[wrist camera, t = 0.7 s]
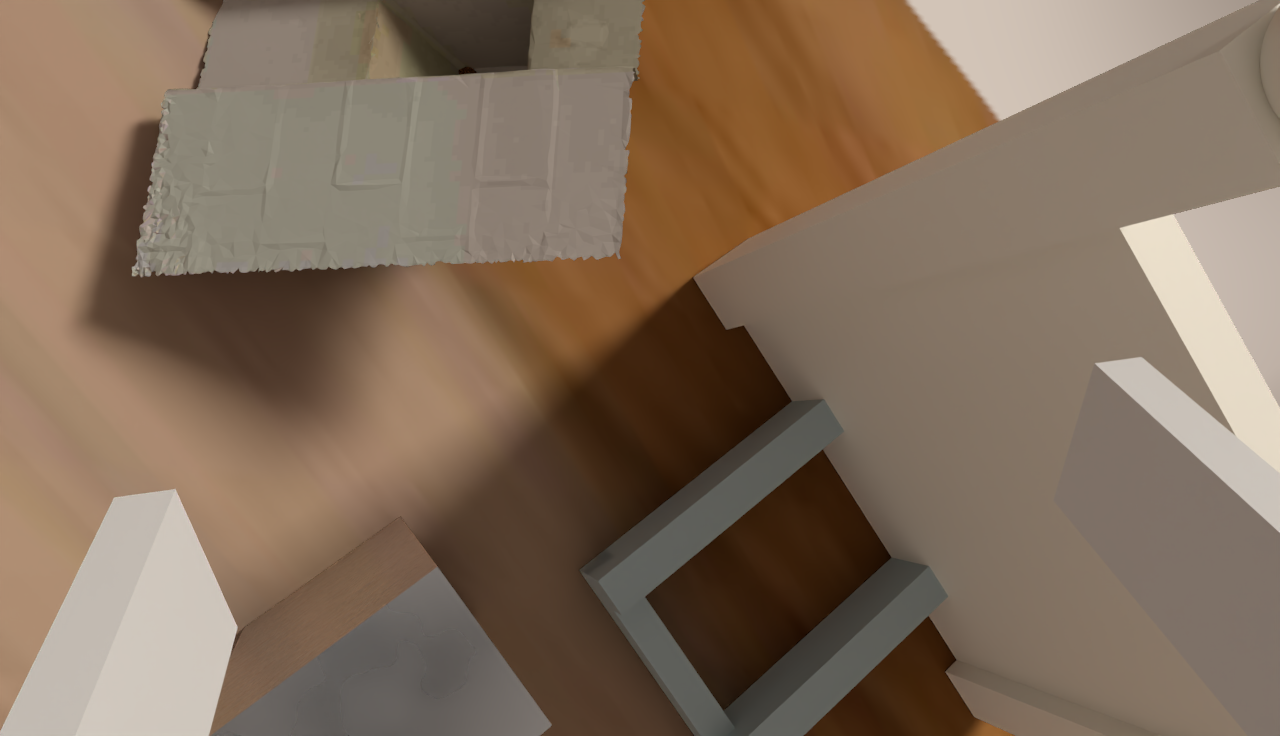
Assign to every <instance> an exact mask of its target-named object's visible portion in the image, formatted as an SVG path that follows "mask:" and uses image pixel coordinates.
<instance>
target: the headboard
mask: <svg viewBox="0 0 1280 736" xmlns="http://www.w3.org/2000/svg"><path fill="white" fill-rule="evenodd" d="M1276 187H1280V0H1259V1H1257V2H1255V3H1252V4H1251V5H1248V6H1246V7H1244V8H1242V9H1240V10H1237V11H1235V12H1233V13H1231V14H1229V15H1227V16H1225V17H1223V18H1220V19H1218V20H1216V21H1214V22H1212V23H1210V24H1207V25H1205V26H1203V27H1201V28H1199V29H1197V30H1195V31H1192V32H1190V33H1188V34H1186V35H1184V36H1182V37H1180V38H1177V39H1175V40H1173V41H1171V42H1169V43H1167V44H1165V45H1162V46H1160V47H1158V48H1156V49H1154V50H1152V51H1150V52H1147V53H1145V54H1143V55H1141V56H1139V57H1137V58H1135V59H1132V60H1130V61H1128V62H1126V63H1124V64H1122V65H1119V66H1117V67H1115V68H1113V69H1111V70H1109V71H1107V72H1105V73H1103V74H1100V75H1098V76H1096V77H1094V78H1092V79H1090V80H1088V81H1085V82H1083V83H1081V84H1079V85H1077V86H1074V87H1072V88H1070V89H1068V90H1066V91H1064V92H1062V93H1059V94H1057V95H1055V96H1053V97H1051V98H1049V99H1047V100H1044V101H1043V102H1040V103H1038V104H1036V105H1034V106H1032V107H1030V108H1027V109H1025V110H1023V111H1021V112H1019V113H1017V114H1015V115H1012V116H1010V117H1008V118H1006V119H1004V120H1002V121H999V122H997V123H995V124H993V125H991V126H989V127H987V128H984V129H982V130H980V131H978V132H976V133H974V134H972V135H969V136H967V137H965V138H963V139H961V140H959V141H957V142H954V143H952V144H950V145H948V146H946V147H944V148H942V149H939V150H937V151H935V152H933V153H931V154H929V155H927V156H924V157H922V158H920V159H918V160H916V161H914V162H912V163H909V164H907V165H905V166H903V167H901V168H899V169H897V170H894V171H892V172H890V173H888V174H886V175H884V176H882V177H879V178H877V179H875V180H873V181H871V182H869V183H867V184H864V185H862V186H860V187H858V188H856V189H854V190H852V191H849V192H847V193H845V194H843V195H841V196H839V197H837V198H834V199H832V200H830V201H828V202H826V203H824V204H822V205H819V206H817V207H815V208H813V209H811V210H809V211H807V212H804V213H802V214H800V215H798V216H796V217H794V218H792V219H789V220H787V221H785V222H783V223H781V224H779V225H777V226H774V227H772V228H770V229H768V230H766V231H764V232H762V233H759V234H757V235H755V236H753V237H751V238H749V239H747V240H746V241H744V242H743V243H741V244H740V245H738V246H737V247H736V248H734V249H733V250H731V251H730V252H728V253H727V254H726V255H724V256H723V257H721V258H720V259H718V260H717V261H716V262H714V263H713V264H711V265H710V266H708V267H707V268H706V269H704V270H703V271H701V272H700V273H698V274H697V275H695V276H694V277H693V279H694V280H695V282H696V283H697V285H698V286H699V288H700V289H701V291H702V293H703V294H704V296H705V297H706V299H707V300H708V302H709V304H710V305H711V307H712V308H713V310H714V311H715V313H716V314H717V316H718V318H719V319H720V321H721V322H722V324H723V325H724V327H725V329H726V330H728V329H732V328H735V327H739V326H743V325H744V327H745V328H746V330H747V331H748V333H749V334H750V336H751V338H752V339H753V341H754V342H755V344H756V345H757V347H758V349H759V350H760V352H761V353H762V355H763V356H764V358H765V360H766V361H767V363H768V364H769V366H770V367H771V369H772V371H773V372H774V374H775V375H776V377H777V378H778V380H779V382H780V383H781V385H782V386H783V388H784V389H785V391H786V393H787V394H788V396H789V397H790V399H791V400H792V402H791V403H789V404H788V405H787V406H786V407H784V408H783V409H782V410H780V411H779V412H778V413H777V414H775V415H774V416H773V417H772V418H770V419H769V420H768V421H767V422H765V423H764V424H763V425H762V426H760V427H759V428H758V429H756V430H755V431H754V432H753V433H751V434H750V435H749V436H748V437H746V438H745V439H744V440H743V441H741V442H740V443H739V444H738V445H736V446H735V447H734V448H733V449H731V450H730V451H729V452H727V453H726V454H725V455H724V456H722V457H721V458H720V459H719V460H717V461H716V462H715V463H714V464H712V465H711V466H710V467H709V468H707V469H706V470H705V471H703V472H702V473H701V474H700V475H698V476H697V477H696V478H695V479H693V480H692V481H691V482H690V483H688V484H687V485H686V486H685V487H683V488H682V489H681V490H680V491H678V492H677V493H676V494H674V495H673V496H672V497H671V498H669V499H668V500H667V501H666V502H664V503H663V504H662V505H661V506H659V507H658V508H657V509H656V510H654V511H653V512H652V513H651V514H649V515H648V516H647V517H645V518H644V519H643V520H642V521H640V522H639V523H638V524H637V525H635V526H634V527H633V528H632V529H630V530H629V531H628V532H627V533H625V534H624V535H623V536H621V537H620V538H619V539H618V540H616V541H615V542H614V543H613V544H611V545H610V546H609V547H608V548H606V549H605V550H604V551H603V552H601V553H600V554H599V555H598V556H596V557H595V558H594V559H592V560H591V561H590V562H589V563H587V564H586V565H585V566H584V567H582V568H581V569H580V570H579V571H580V572H581V574H582V575H583V577H584V578H585V579H586V581H587V582H588V584H589V585H590V587H591V588H592V590H593V591H594V592H595V594H596V595H597V597H598V598H599V600H600V601H601V602H602V604H603V605H604V607H605V608H606V610H607V611H608V612H609V614H610V615H611V617H612V618H613V620H614V621H615V623H616V624H617V625H618V627H619V628H620V630H621V631H622V633H623V634H624V635H625V637H626V638H627V640H628V641H629V643H630V644H631V646H632V647H633V648H634V650H635V651H636V653H637V654H638V656H639V657H640V658H641V660H642V661H643V663H644V664H645V666H646V667H647V669H648V670H649V671H650V673H651V674H652V676H653V677H654V679H655V680H656V681H657V683H658V684H659V686H660V687H661V689H662V690H663V692H664V693H665V694H666V696H667V697H668V699H669V700H670V702H671V703H672V704H673V706H674V707H675V709H676V710H677V712H678V713H679V714H680V716H681V717H682V719H683V720H684V722H685V723H686V725H687V726H688V727H689V729H690V730H691V732H692V733H693V735H694V736H804V735H805V734H806V733H807V732H808V731H809V730H810V729H811V728H812V727H813V726H814V725H815V724H816V723H817V722H818V721H819V720H820V719H821V718H822V717H824V716H825V715H826V714H827V713H828V712H829V711H830V710H831V709H832V708H833V707H834V706H835V705H836V704H837V703H838V702H839V701H840V700H841V699H842V698H843V697H844V696H845V695H846V694H847V693H848V692H850V691H851V690H852V689H853V688H854V687H855V686H856V685H857V684H858V683H859V682H860V681H861V680H862V679H863V678H864V677H865V676H866V675H867V674H868V673H869V672H870V671H871V670H872V669H873V668H874V667H876V666H877V665H878V664H879V663H880V662H881V661H882V660H883V659H884V658H885V657H886V656H887V655H888V654H889V653H890V652H891V651H892V650H893V649H894V648H895V647H896V646H897V645H898V644H899V643H900V642H902V641H903V640H904V639H905V638H906V637H907V636H908V635H909V634H910V633H911V632H912V631H913V630H914V629H915V628H916V627H917V626H918V625H919V624H920V623H921V622H922V621H923V620H924V619H925V618H926V617H927V616H929V617H930V619H931V620H932V622H933V624H934V625H935V627H936V628H937V630H938V631H939V633H940V635H941V636H942V638H943V639H944V641H945V642H946V644H947V646H948V647H949V649H950V650H951V652H952V653H953V655H954V657H955V658H956V661H955V662H954V663H953V664H952V665H951V666H950V667H949V668H948V669H947V670H946V671H945V672H946V674H947V675H948V677H949V679H950V680H951V682H952V683H953V685H954V686H955V688H956V689H957V691H958V693H959V694H960V696H961V697H962V699H963V700H964V702H965V704H966V705H967V707H968V708H969V710H970V711H971V713H972V714H973V716H974V717H975V718H977V719H980V720H982V721H984V722H986V723H989V724H991V725H993V726H995V727H998V728H1000V729H1002V730H1004V731H1006V732H1009V733H1011V734H1013V735H1015V736H1248V735H1247V734H1246V733H1245V732H1244V730H1243V729H1242V728H1241V727H1240V726H1239V724H1238V723H1237V722H1236V721H1235V720H1234V718H1233V717H1232V716H1231V715H1230V714H1229V712H1228V711H1227V710H1226V709H1225V708H1224V706H1223V705H1222V704H1221V703H1220V701H1219V700H1218V699H1217V698H1216V697H1215V695H1214V694H1213V693H1212V692H1211V691H1210V689H1209V688H1208V687H1207V686H1206V685H1205V683H1204V682H1203V681H1202V680H1201V678H1200V677H1199V676H1198V675H1197V674H1196V672H1195V671H1194V670H1193V669H1192V668H1191V666H1190V665H1189V664H1188V663H1187V662H1186V660H1185V659H1184V658H1183V657H1182V656H1181V654H1180V653H1179V652H1178V651H1177V649H1176V648H1175V647H1174V646H1173V645H1172V643H1171V642H1170V641H1169V640H1168V639H1167V637H1166V636H1165V635H1164V634H1163V633H1162V631H1161V630H1160V629H1159V628H1158V626H1157V625H1156V624H1155V623H1154V622H1153V620H1152V619H1151V618H1150V617H1149V616H1148V614H1147V613H1146V612H1145V611H1144V610H1143V608H1142V607H1141V606H1140V605H1139V603H1138V602H1137V601H1136V600H1135V599H1134V597H1133V596H1132V595H1131V594H1130V593H1129V591H1128V590H1127V589H1126V588H1125V587H1124V585H1123V584H1122V583H1121V582H1120V581H1119V579H1118V578H1117V577H1116V576H1115V574H1114V573H1113V572H1112V571H1111V570H1110V568H1109V567H1108V566H1107V565H1106V564H1105V562H1104V561H1103V560H1102V559H1101V558H1100V556H1099V555H1098V554H1097V553H1096V551H1095V550H1094V549H1093V548H1092V547H1091V545H1090V544H1089V543H1088V542H1087V541H1086V539H1085V538H1084V537H1083V536H1082V535H1081V533H1080V532H1079V531H1078V530H1077V529H1076V527H1075V526H1074V525H1073V524H1072V522H1071V521H1070V520H1069V519H1068V518H1067V516H1066V515H1065V514H1064V513H1063V512H1062V510H1061V509H1060V508H1059V507H1058V506H1057V504H1056V503H1055V502H1054V501H1053V500H1054V497H1055V493H1056V490H1057V487H1058V483H1059V480H1060V477H1061V473H1062V470H1063V467H1064V463H1065V460H1066V457H1067V453H1068V450H1069V447H1070V443H1071V440H1072V437H1073V433H1074V430H1075V427H1076V423H1077V420H1078V417H1079V413H1080V410H1081V407H1082V403H1083V400H1084V397H1085V393H1086V390H1087V387H1088V383H1089V380H1090V377H1091V373H1092V370H1093V367H1094V363H1101V362H1108V361H1116V360H1123V359H1130V358H1138V357H1142V358H1143V359H1145V360H1146V361H1147V362H1148V363H1149V364H1151V365H1152V366H1153V367H1154V368H1155V369H1156V370H1158V371H1159V372H1160V373H1161V374H1162V375H1164V376H1165V377H1166V378H1167V379H1168V380H1170V381H1171V382H1172V383H1173V384H1174V385H1175V386H1177V387H1178V388H1179V389H1180V390H1181V391H1183V392H1184V393H1185V394H1186V395H1187V396H1189V397H1190V398H1191V399H1192V400H1193V401H1194V402H1196V403H1197V404H1198V405H1199V406H1200V407H1202V408H1203V409H1204V410H1205V411H1206V412H1208V413H1209V414H1210V415H1211V416H1212V417H1214V418H1215V419H1216V420H1217V421H1218V422H1219V423H1221V424H1222V425H1223V426H1224V427H1225V428H1227V429H1228V430H1229V431H1230V432H1231V433H1233V434H1234V435H1235V436H1236V437H1237V438H1238V439H1240V440H1241V441H1242V442H1243V443H1244V444H1246V445H1247V446H1248V447H1249V448H1250V449H1252V450H1253V451H1254V452H1255V453H1256V454H1257V455H1259V456H1260V457H1261V458H1262V459H1263V460H1265V461H1266V462H1267V463H1268V464H1269V465H1271V466H1272V467H1273V468H1274V469H1275V470H1276V471H1278V472H1279V473H1280V408H1279V406H1278V404H1277V402H1276V400H1275V399H1274V397H1273V395H1272V393H1271V391H1270V389H1269V388H1268V386H1267V384H1266V382H1265V380H1264V378H1263V377H1262V375H1261V373H1260V371H1259V369H1258V368H1257V366H1256V364H1255V362H1254V360H1253V358H1252V357H1251V355H1250V353H1249V351H1248V349H1247V347H1246V346H1245V344H1244V342H1243V340H1242V338H1241V337H1240V335H1239V333H1238V331H1237V329H1236V327H1235V326H1234V324H1233V322H1232V320H1231V318H1230V317H1229V315H1228V313H1227V311H1226V309H1225V307H1224V306H1223V304H1222V302H1221V300H1220V298H1219V297H1218V295H1217V293H1216V291H1215V289H1214V287H1213V286H1212V284H1211V282H1210V280H1209V278H1208V277H1207V275H1206V273H1205V271H1204V269H1203V268H1202V266H1201V264H1200V262H1199V260H1198V258H1197V257H1196V255H1195V253H1194V251H1193V249H1192V247H1191V246H1190V244H1189V242H1188V240H1187V238H1186V236H1185V235H1184V233H1183V231H1182V229H1181V228H1180V226H1179V224H1178V222H1177V220H1176V218H1175V217H1174V215H1173V214H1176V213H1179V212H1183V211H1187V210H1191V209H1195V208H1199V207H1203V206H1206V205H1210V204H1214V203H1218V202H1222V201H1226V200H1230V199H1234V198H1237V197H1241V196H1245V195H1249V194H1253V193H1257V192H1260V191H1264V190H1268V189H1272V188H1276ZM822 449H823V451H824V452H825V454H826V455H827V457H828V459H829V460H830V462H831V463H832V465H833V466H834V468H835V470H836V471H837V473H838V474H839V476H840V477H841V479H842V481H843V482H844V484H845V485H846V487H847V488H848V490H849V492H850V493H851V495H852V496H853V498H854V499H855V501H856V503H857V504H858V506H859V507H860V509H861V510H862V512H863V514H864V515H865V517H866V518H867V520H868V521H869V523H870V525H871V526H872V528H873V529H874V531H875V532H876V534H877V536H878V537H879V539H880V540H881V542H882V543H883V545H884V547H885V548H886V550H887V551H888V553H889V554H890V556H891V558H890V559H889V560H888V561H887V562H886V563H885V564H884V565H883V566H882V567H881V568H880V569H878V570H877V571H876V572H875V573H874V574H873V575H872V576H871V577H870V578H869V579H867V580H866V581H865V582H864V583H863V584H862V585H861V586H860V587H859V588H858V589H857V590H855V591H854V592H853V593H852V594H851V595H850V596H849V597H848V598H847V599H846V600H844V601H843V602H842V603H841V604H840V605H839V606H838V607H837V608H836V609H835V610H834V611H832V612H831V613H830V614H829V615H828V616H827V617H826V618H825V619H824V620H823V621H821V622H820V623H819V624H818V625H817V626H816V627H815V628H814V629H813V630H812V631H811V632H809V633H808V634H807V635H806V636H805V637H804V638H803V639H802V640H801V641H800V642H798V643H797V644H796V645H795V646H794V647H793V648H792V649H791V650H790V651H789V652H788V653H786V654H785V655H784V656H783V657H782V658H781V659H780V660H779V661H778V662H777V663H776V664H774V665H773V666H772V667H771V668H770V669H769V670H768V671H767V672H766V673H765V674H763V675H762V676H761V677H760V678H759V679H758V680H757V681H756V682H755V683H754V684H753V685H751V686H750V687H749V688H748V689H747V690H746V691H745V692H744V693H743V694H742V695H740V696H739V697H738V698H737V699H736V700H735V701H734V702H733V703H732V704H731V705H730V706H728V707H727V708H726V709H725V710H724V711H723V710H722V708H721V707H720V705H719V704H718V702H717V701H716V700H715V698H714V697H713V695H712V694H711V692H710V691H709V689H708V688H707V686H706V685H705V684H704V682H703V681H702V679H701V678H700V676H699V675H698V673H697V672H696V670H695V669H694V667H693V666H692V665H691V663H690V662H689V660H688V659H687V657H686V656H685V654H684V653H683V651H682V650H681V649H680V647H679V646H678V644H677V643H676V641H675V640H674V638H673V637H672V635H671V634H670V633H669V631H668V630H667V628H666V627H665V625H664V624H663V622H662V621H661V619H660V618H659V617H658V615H657V614H656V612H655V611H654V609H653V608H652V606H651V605H650V603H649V602H648V601H647V599H646V598H645V596H646V595H647V594H649V593H650V592H651V591H652V590H653V589H655V588H656V587H657V586H658V585H659V584H661V583H662V582H663V581H664V580H665V579H667V578H668V577H669V576H670V575H672V574H673V573H674V572H675V571H676V570H678V569H679V568H680V567H681V566H682V565H684V564H685V563H686V562H687V561H688V560H690V559H691V558H692V557H693V556H694V555H696V554H697V553H698V552H699V551H700V550H702V549H703V548H704V547H705V546H707V545H708V544H709V543H710V542H711V541H713V540H714V539H715V538H716V537H717V536H719V535H720V534H721V533H722V532H723V531H725V530H726V529H727V528H728V527H729V526H731V525H732V524H733V523H734V522H736V521H737V520H738V519H739V518H740V517H742V516H743V515H744V514H745V513H746V512H748V511H749V510H750V509H751V508H752V507H754V506H755V505H756V504H757V503H758V502H760V501H761V500H762V499H763V498H764V497H766V496H767V495H768V494H769V493H771V492H772V491H773V490H774V489H775V488H777V487H778V486H779V485H780V484H781V483H783V482H784V481H785V480H786V479H787V478H789V477H790V476H791V475H792V474H793V473H795V472H796V471H797V470H798V469H799V468H801V467H802V466H803V465H804V464H806V463H807V462H808V461H809V460H810V459H812V458H813V457H814V456H815V455H816V454H818V453H819V452H820V451H821V450H822Z"/></svg>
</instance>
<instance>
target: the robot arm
mask: <svg viewBox="0 0 1280 736" xmlns="http://www.w3.org/2000/svg"><path fill="white" fill-rule="evenodd" d="M1053 501H1054V502H1055V503H1056V504H1057V506H1058V507H1059V508H1060V509H1061V510H1062V512H1063V513H1064V514H1065V515H1066V516H1067V518H1068V519H1069V520H1070V521H1071V522H1072V524H1073V525H1074V526H1075V527H1076V529H1077V530H1078V531H1079V532H1080V533H1081V535H1082V536H1083V537H1084V538H1085V539H1086V541H1087V542H1088V543H1089V544H1090V545H1091V547H1092V548H1093V549H1094V550H1095V551H1096V553H1097V554H1098V555H1099V556H1100V558H1101V559H1102V560H1103V561H1104V562H1105V564H1106V565H1107V566H1108V567H1109V568H1110V570H1111V571H1112V572H1113V573H1114V574H1115V576H1116V577H1117V578H1118V579H1119V581H1120V582H1121V583H1122V584H1123V585H1124V587H1125V588H1126V589H1127V590H1128V591H1129V593H1130V594H1131V595H1132V596H1133V597H1134V599H1135V600H1136V601H1137V602H1138V603H1139V605H1140V606H1141V607H1142V608H1143V610H1144V611H1145V612H1146V613H1147V614H1148V616H1149V617H1150V618H1151V619H1152V620H1153V622H1154V623H1155V624H1156V625H1157V626H1158V628H1159V629H1160V630H1161V631H1162V633H1163V634H1164V635H1165V636H1166V637H1167V639H1168V640H1169V641H1170V642H1171V643H1172V645H1173V646H1174V647H1175V648H1176V649H1177V651H1178V652H1179V653H1180V654H1181V656H1182V657H1183V658H1184V659H1185V660H1186V662H1187V663H1188V664H1189V665H1190V666H1191V668H1192V669H1193V670H1194V671H1195V672H1196V674H1197V675H1198V676H1199V677H1200V678H1201V680H1202V681H1203V682H1204V683H1205V685H1206V686H1207V687H1208V688H1209V689H1210V691H1211V692H1212V693H1213V694H1214V695H1215V697H1216V698H1217V699H1218V700H1219V701H1220V703H1221V704H1222V705H1223V706H1224V708H1225V709H1226V710H1227V711H1228V712H1229V714H1230V715H1231V716H1232V717H1233V718H1234V720H1235V721H1236V722H1237V723H1238V724H1239V726H1240V727H1241V728H1242V729H1243V730H1244V732H1245V733H1246V734H1247V735H1248V736H1280V473H1279V472H1278V471H1276V470H1275V469H1274V468H1273V467H1272V466H1271V465H1269V464H1268V463H1267V462H1266V461H1265V460H1263V459H1262V458H1261V457H1260V456H1259V455H1257V454H1256V453H1255V452H1254V451H1253V450H1252V449H1250V448H1249V447H1248V446H1247V445H1246V444H1244V443H1243V442H1242V441H1241V440H1240V439H1238V438H1237V437H1236V436H1235V435H1234V434H1233V433H1231V432H1230V431H1229V430H1228V429H1227V428H1225V427H1224V426H1223V425H1222V424H1221V423H1219V422H1218V421H1217V420H1216V419H1215V418H1214V417H1212V416H1211V415H1210V414H1209V413H1208V412H1206V411H1205V410H1204V409H1203V408H1202V407H1200V406H1199V405H1198V404H1197V403H1196V402H1194V401H1193V400H1192V399H1191V398H1190V397H1189V396H1187V395H1186V394H1185V393H1184V392H1183V391H1181V390H1180V389H1179V388H1178V387H1177V386H1175V385H1174V384H1173V383H1172V382H1171V381H1170V380H1168V379H1167V378H1166V377H1165V376H1164V375H1162V374H1161V373H1160V372H1159V371H1158V370H1156V369H1155V368H1154V367H1153V366H1152V365H1151V364H1149V363H1148V362H1147V361H1146V360H1145V359H1143V358H1142V357H1138V358H1130V359H1123V360H1116V361H1108V362H1101V363H1094V367H1093V370H1092V373H1091V377H1090V380H1089V383H1088V387H1087V390H1086V393H1085V397H1084V400H1083V403H1082V407H1081V410H1080V413H1079V417H1078V420H1077V423H1076V427H1075V430H1074V433H1073V437H1072V440H1071V443H1070V447H1069V450H1068V453H1067V457H1066V460H1065V463H1064V467H1063V470H1062V473H1061V477H1060V480H1059V483H1058V487H1057V490H1056V493H1055V497H1054V500H1053ZM237 628H238V627H237V625H236V623H235V620H234V618H233V616H232V614H231V612H230V609H229V607H228V605H227V603H226V600H225V598H224V596H223V594H222V592H221V589H220V587H219V585H218V583H217V580H216V578H215V576H214V574H213V572H212V569H211V567H210V565H209V563H208V560H207V558H206V556H205V554H204V552H203V549H202V547H201V545H200V543H199V540H198V538H197V536H196V534H195V532H194V529H193V527H192V525H191V523H190V520H189V518H188V516H187V514H186V512H185V509H184V507H183V505H182V503H181V500H180V498H179V496H178V494H177V492H176V489H173V490H166V491H158V492H151V493H144V494H136V495H129V496H122V497H114V499H113V501H112V503H111V505H110V507H109V509H108V511H107V513H106V516H105V518H104V520H103V522H102V524H101V526H100V528H99V530H98V532H97V534H96V536H95V538H94V540H93V542H92V544H91V546H90V548H89V550H88V552H87V555H86V557H85V559H84V561H83V563H82V565H81V567H80V569H79V571H78V573H77V575H76V577H75V579H74V581H73V583H72V585H71V587H70V589H69V591H68V593H67V596H66V598H65V600H64V602H63V604H62V606H61V608H60V610H59V612H58V614H57V616H56V618H55V620H54V622H53V624H52V626H51V628H50V630H49V632H48V635H47V637H46V639H45V641H44V643H43V645H42V647H41V649H40V651H39V653H38V655H37V657H36V659H35V661H34V663H33V665H32V667H31V669H30V671H29V673H28V676H27V678H26V680H25V682H24V684H23V686H22V688H21V690H20V692H19V694H18V696H17V698H16V700H15V702H14V704H13V706H12V708H11V710H10V712H9V715H8V717H7V719H6V721H5V723H4V725H3V727H2V729H1V731H0V736H209V733H210V729H211V726H212V722H213V718H214V714H215V711H216V707H217V703H218V699H219V696H220V692H221V688H222V684H223V681H224V677H225V673H226V669H227V665H228V662H229V658H230V654H231V650H232V647H233V643H234V639H235V635H236V632H237Z"/></svg>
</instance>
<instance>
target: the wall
mask: <svg viewBox="0 0 1280 736" xmlns="http://www.w3.org/2000/svg"><path fill="white" fill-rule="evenodd" d="M643 1H645V0H223V4H222V6H221V8H220V10H219V11H218V13H217V15H216V17H215V19H214V21H213V25H212V28H210V30H209V32H208V33H209V34H210V35H211V36H210V38H209V39H208V45H207V48H208V50H207V52H206V53H205V57H204V59H203V62H205V68H204V69H202V72H201V74H200V76H201V79H200V83H199V84H198V86H199V87H197V89H169V90H167V91H166V92H165V95H164V96H165V99H164V100H163V102H162V103H161V106H162V108H163V109H164V110H162V111H161V113H162V118H161V121H160V124H159V130H160V132H159V137H158V139H157V141H158V143H157V148H156V150H155V154H154V156H153V160H154V161H153V162H152V164H151V165H152V167H153V168H152V169H151V170H152V174H151V176H150V179H149V180H150V181H152V182H153V184H152V186H149V187H148V190H147V191H148V192H149V196H148V197H147V198H148V202H147V204H146V205H144V206H143V208H144V209H145V210H146V211H145V212H144V214H143V221H144V223H142V224H141V225H140V227H139V231H140V235H141V237H140V239H138V240H137V245H136V246H137V254H138V255H137V257H136V259H137V260H138V261H137V263H136V264H135V266H133V267H132V276H136V275H138V274H139V275H140V277H143V276H148V277H149V276H151V272H153V271H156V275H157V276H159V275H160V274H162V273H165V275H166V276H167V275H172V276H173V275H180V274H184V275H186V273H187V271H188V272H189V274H195V273H198V274H201V273H203V272H207V271H209V272H211V273H213V271H214V270H215V271H218V272H220V273H224V272H227V274H228V273H229V272H231V273H232V274H233V273H234V272H235V271H236V270H237V269H238V268H239V271H240V272H242V273H247V272H249V271H253V272H255V271H256V270H257V269H258V268H259V271H264V270H266V272H269V271H271V270H275V271H274V272H278V271H280V270H281V269H282V268H283V267H284V268H283V269H282V270H289V271H291V272H292V271H294V270H295V269H297V270H299V271H300V270H302V269H307V268H312V270H313V269H316V268H319V269H320V270H323V269H327V268H328V267H330V268H332V269H338V268H340V267H343V268H344V269H347V268H351V267H352V268H358V267H360V266H365V267H367V266H369V265H370V266H371V267H376V266H377V265H379V264H383V265H385V266H386V267H388V266H389V265H390V264H394V265H401V266H403V267H409V266H412V265H418V264H422V265H423V266H425V265H426V263H428V264H430V265H435V263H436V262H437V261H442V262H445V263H448V262H450V263H451V264H457V263H458V264H461V263H474V262H476V263H478V262H480V263H482V264H483V263H485V262H487V261H488V262H490V263H493V262H494V261H495V262H496V263H497V261H498V260H499V261H500V262H507V261H509V260H512V261H513V262H514V261H515V259H516V260H517V261H520V260H524V261H523V262H532V261H543V260H548V261H553V260H554V259H555V258H556V256H558V257H560V258H561V259H562V260H564V259H567V258H571V259H573V260H574V261H575V260H576V258H578V257H582V258H583V260H585V259H588V258H589V257H591V256H593V257H594V258H595V259H597V260H598V259H601V258H603V257H606V256H607V257H611V256H612V255H613V254H614V253H615V252H616V255H617V257H618V259H621V258H620V254H619V250H620V246H621V241H622V221H623V220H624V217H623V214H624V212H625V204H624V193H625V192H626V189H627V188H626V186H625V184H626V178H625V177H624V175H625V174H626V173H627V166H628V155H629V150H625V148H626V146H627V144H628V141H629V136H630V127H631V113H630V110H631V108H632V99H631V98H629V89H630V87H631V85H632V82H633V81H637V79H638V78H639V77H637V75H638V74H639V71H638V70H637V67H638V65H639V61H638V59H637V58H638V57H640V56H639V55H638V54H639V51H640V48H641V45H640V43H641V42H642V41H641V40H639V39H638V38H639V36H638V35H637V34H638V33H640V32H641V31H642V29H641V21H643V18H642V17H641V16H642V14H643V11H644V9H645V5H643V4H642V2H643ZM465 67H470V68H473V69H474V70H475V71H476V72H478V73H474V74H462V75H459V69H462V68H465ZM258 273H259V272H258Z"/></svg>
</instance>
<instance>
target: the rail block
mask: <svg viewBox="0 0 1280 736" xmlns="http://www.w3.org/2000/svg"><path fill="white" fill-rule="evenodd" d="M551 726H552V724H551V723H550V722H549V720H548V719H547V717H546V716H545V715H544V713H543V712H542V711H541V709H540V708H539V706H538V705H537V704H536V702H535V701H534V699H533V698H532V697H531V695H530V694H529V693H528V691H527V690H526V688H525V687H524V686H523V684H522V683H521V681H520V680H519V679H518V677H517V676H516V675H515V673H514V672H513V670H512V669H511V668H510V666H509V665H508V663H507V662H506V661H505V659H504V658H503V657H502V655H501V654H500V652H499V651H498V650H497V648H496V647H495V645H494V644H493V643H492V641H491V640H490V639H489V637H488V636H487V634H486V633H485V632H484V630H483V629H482V627H481V626H480V625H479V623H478V622H477V621H476V619H475V618H474V616H473V615H472V614H471V612H470V611H469V609H468V608H467V607H466V605H465V604H464V603H463V601H462V600H461V598H460V597H459V596H458V594H457V593H456V591H455V590H454V589H453V587H452V586H451V585H450V583H449V582H448V580H447V579H446V578H445V576H444V575H443V573H442V572H441V571H440V569H439V568H438V567H437V565H436V564H435V562H434V561H433V560H432V558H431V557H430V556H429V554H428V553H427V552H426V550H425V549H424V548H423V546H422V545H421V544H420V542H419V541H418V539H417V538H416V537H415V535H414V534H413V533H412V531H411V530H410V529H409V527H408V526H407V525H406V523H405V522H404V521H403V519H402V518H401V516H400V517H399V518H397V519H396V520H394V521H393V522H392V523H390V524H389V525H387V526H386V527H385V528H383V529H382V530H380V531H379V532H378V533H376V534H375V535H373V536H372V537H371V538H369V539H368V540H366V541H365V542H364V543H362V544H361V545H359V546H358V547H357V548H355V549H354V550H352V551H351V552H350V553H348V554H347V555H345V556H344V557H343V558H341V559H340V560H338V561H337V562H335V563H334V564H333V565H331V566H330V567H328V568H327V569H326V570H324V571H323V572H321V573H320V574H319V575H317V576H316V577H314V578H313V579H312V580H310V581H309V582H307V583H306V584H305V585H303V586H302V587H300V588H299V589H298V590H296V591H295V592H293V593H292V594H291V595H289V596H288V597H286V598H285V599H284V600H282V601H281V602H279V603H278V604H277V605H275V606H274V607H272V608H271V609H270V610H268V611H267V612H265V613H264V614H262V615H261V616H260V617H258V618H257V619H255V620H254V621H253V622H251V623H250V624H248V625H247V626H246V627H244V628H243V631H242V633H241V635H240V637H239V639H238V641H237V643H236V645H235V647H234V650H233V652H232V654H231V656H230V658H229V662H228V665H227V669H226V673H225V677H224V681H223V684H222V688H221V692H220V696H219V699H218V703H217V707H216V711H215V714H214V718H213V722H212V726H211V729H210V733H209V736H540V735H541V734H543V733H544V732H545V731H546V730H547V729H548V728H550V727H551Z"/></svg>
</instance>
